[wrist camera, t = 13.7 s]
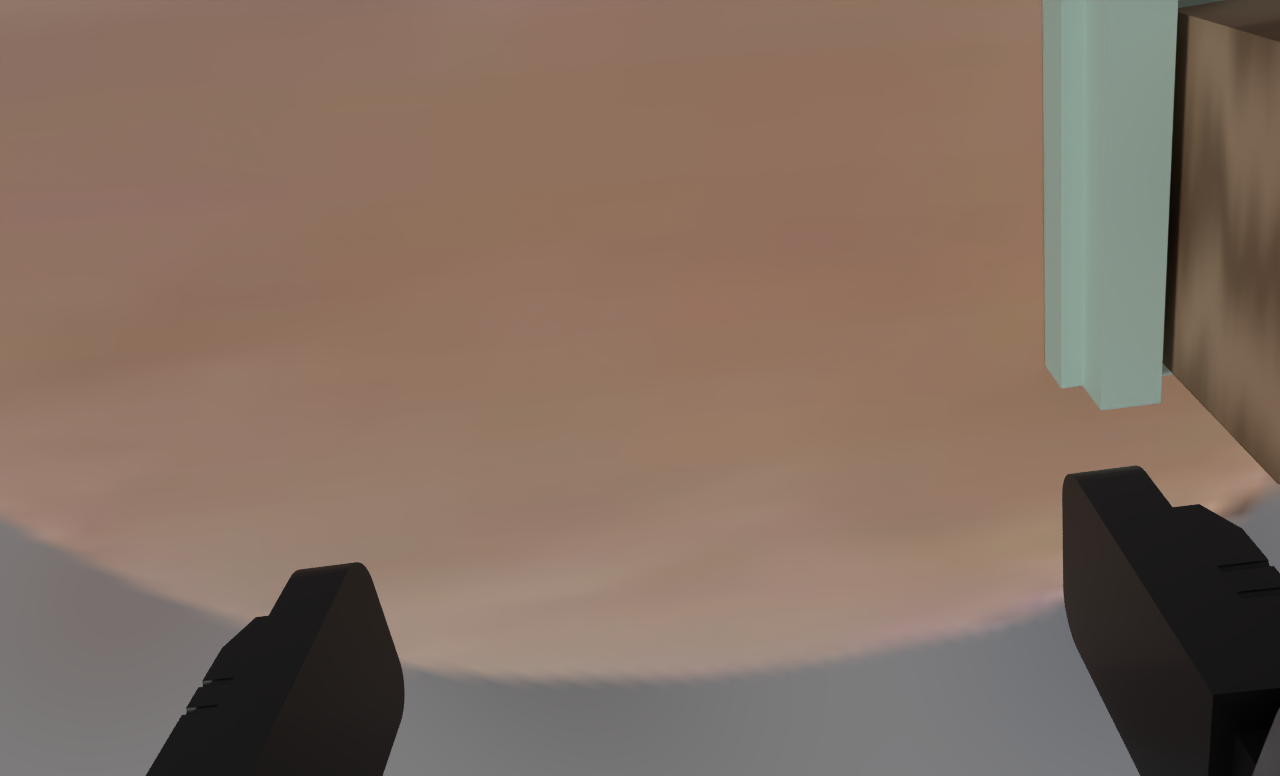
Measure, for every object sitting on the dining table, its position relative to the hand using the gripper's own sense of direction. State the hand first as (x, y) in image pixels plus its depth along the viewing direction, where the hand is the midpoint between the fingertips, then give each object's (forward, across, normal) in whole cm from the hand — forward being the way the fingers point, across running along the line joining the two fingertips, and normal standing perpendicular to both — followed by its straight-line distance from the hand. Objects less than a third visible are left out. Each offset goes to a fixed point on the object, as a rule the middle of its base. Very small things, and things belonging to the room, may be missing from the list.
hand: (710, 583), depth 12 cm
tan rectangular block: (+26, -17, +5) cm, 31 cm away
